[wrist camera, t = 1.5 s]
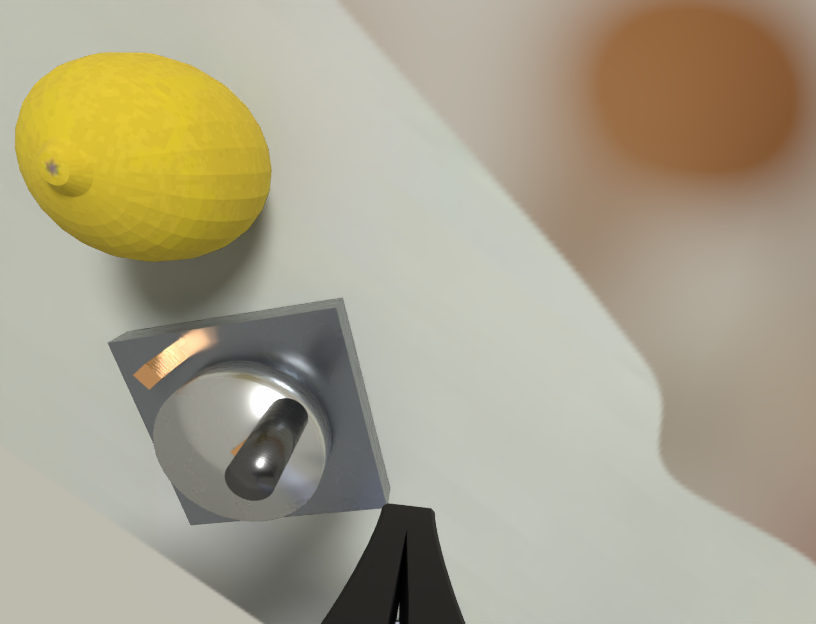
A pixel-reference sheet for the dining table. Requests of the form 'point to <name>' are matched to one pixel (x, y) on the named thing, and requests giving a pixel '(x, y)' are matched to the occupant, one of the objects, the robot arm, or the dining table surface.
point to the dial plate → (283, 349)
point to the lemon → (142, 156)
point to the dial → (243, 441)
